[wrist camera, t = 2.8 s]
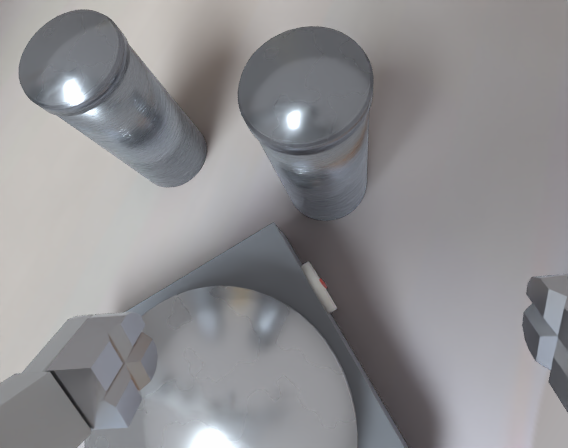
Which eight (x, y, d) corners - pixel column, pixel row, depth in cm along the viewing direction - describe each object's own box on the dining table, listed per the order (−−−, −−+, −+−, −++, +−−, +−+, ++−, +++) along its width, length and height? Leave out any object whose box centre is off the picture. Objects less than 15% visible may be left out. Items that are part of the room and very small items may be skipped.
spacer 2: (272, 172, 22) (214, 71, 13) (340, 131, 21) (325, 1, 13) (311, 237, 20) (275, 170, 12) (385, 193, 20) (402, 92, 11)
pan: (70, 365, 17) (53, 367, 16) (272, 243, 17) (267, 237, 16) (156, 648, 13) (141, 671, 13) (417, 499, 13) (422, 513, 12)
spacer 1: (130, 146, 24) (5, 47, 16) (190, 109, 24) (96, -11, 15) (156, 202, 23) (32, 126, 14) (220, 163, 22) (134, 62, 14)
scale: (102, 347, 21) (55, 350, 17) (294, 231, 20) (282, 213, 17) (195, 618, 16) (154, 688, 13) (441, 478, 16) (461, 515, 13)
